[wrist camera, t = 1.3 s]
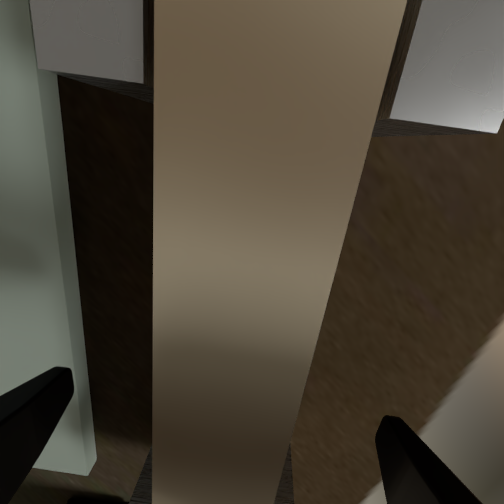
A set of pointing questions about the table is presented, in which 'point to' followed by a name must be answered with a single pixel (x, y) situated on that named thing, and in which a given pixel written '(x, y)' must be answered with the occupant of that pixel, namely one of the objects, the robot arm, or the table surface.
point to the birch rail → (250, 222)
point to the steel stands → (391, 105)
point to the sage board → (38, 243)
